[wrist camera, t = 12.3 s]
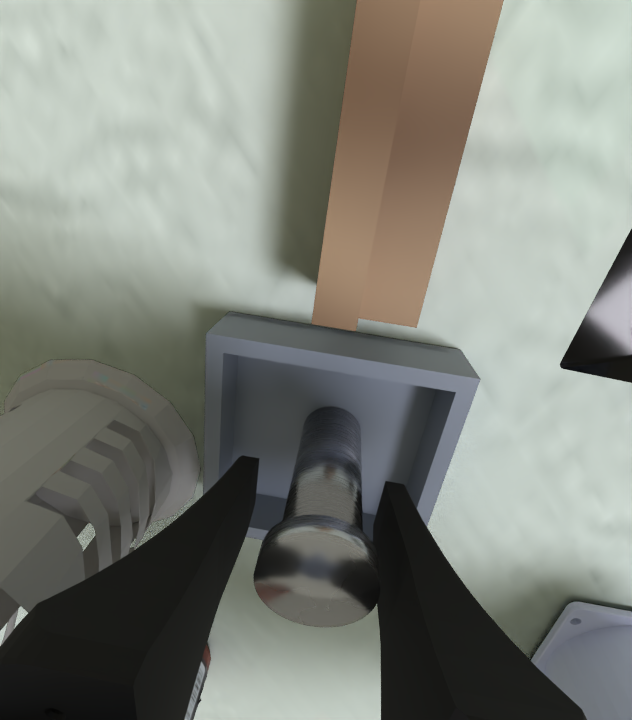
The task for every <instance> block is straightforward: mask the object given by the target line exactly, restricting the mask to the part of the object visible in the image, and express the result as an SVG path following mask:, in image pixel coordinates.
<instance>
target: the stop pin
mask: <svg viewBox="0 0 632 720" xmlns="http://www.w3.org/2000/svg"><path fill="white" fill-rule="evenodd" d="M254 586H255V589H256V591H257V593H258V595H259V597H260V598H261V600H262V601H263V602H264V603H265V604H266V605H267V606H268V607H269V608H270V609H271V610H273V611H274V612H276V613H277V614H279V615H280V616H282V617H284V618H286V619H288V620H291V621H293V622H296V623H299V624H304V625H308V626H314V627H336V626H342V625H347V624H350V623H353V622H355V621H358V620H360V619H361V618H363V617H365V616H366V615H367V614H369V613H370V612H371V611H372V610H373V609H374V607H375V606H376V604H377V602H378V600H379V596H380V576H379V560H378V554H377V551H376V548H375V546H374V544H373V543H372V541H371V540H370V539H369V537H368V536H367V535H366V534H365V533H364V532H363V518H362V466H361V428H360V424H359V422H358V420H357V419H356V418H355V416H354V415H353V414H351V413H350V412H349V411H347V410H345V409H342V408H339V407H333V406H328V407H322V408H319V409H317V410H315V411H313V412H312V413H311V414H310V415H309V416H308V417H307V419H306V420H305V423H304V426H303V431H302V435H301V440H300V444H299V449H298V453H297V457H296V462H295V466H294V471H293V475H292V479H291V484H290V488H289V493H288V497H287V501H286V506H285V510H284V515H283V519H282V522H280V523H278V524H276V525H275V526H274V527H273V528H271V529H270V530H269V532H268V533H267V534H266V536H265V537H264V539H263V542H262V545H261V549H260V552H259V556H258V560H257V563H256V567H255V571H254Z"/></svg>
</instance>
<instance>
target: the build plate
mask: <svg viewBox="0 0 632 720" xmlns="http://www.w3.org/2000/svg"><path fill="white" fill-rule="evenodd" d="M560 367H561V368H563V369H567V370H572V371H577V372H582V373H587V374H592V375H597V376H602V377H607V378H612V379H616V380H621V381H626V382H631V383H632V229H631V231H630V233H629V234H628V236H627V238H626V240H625V242H624V244H623V246H622V248H621V250H620V251H619V253H618V255H617V257H616V259H615V261H614V263H613V265H612V267H611V268H610V270H609V272H608V274H607V276H606V278H605V280H604V282H603V284H602V285H601V287H600V289H599V291H598V293H597V295H596V297H595V299H594V301H593V302H592V304H591V306H590V308H589V310H588V312H587V314H586V316H585V318H584V319H583V321H582V323H581V325H580V327H579V329H578V331H577V333H576V335H575V336H574V338H573V340H572V342H571V344H570V346H569V348H568V350H567V351H566V353H565V355H564V357H563V359H562V361H561V363H560Z"/></svg>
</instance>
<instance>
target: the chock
mask: <svg viewBox="0 0 632 720" xmlns="http://www.w3.org/2000/svg"><path fill="white" fill-rule="evenodd" d="M503 1H504V0H357V3H356V10H355V17H354V25H353V32H352V39H351V46H350V53H349V60H348V67H347V74H346V81H345V89H344V96H343V103H342V110H341V117H340V124H339V131H338V138H337V145H336V152H335V160H334V167H333V174H332V181H331V188H330V195H329V202H328V209H327V216H326V224H325V231H324V238H323V245H322V252H321V259H320V266H319V273H318V280H317V287H316V295H315V302H314V309H313V316H312V323H311V324H314V325H320V326H327V327H333V328H339V329H345V330H351V331H356V328H357V323H358V318H360V319H367V320H373V321H379V322H385V323H391V324H397V325H403V326H409V327H415V328H417V324H418V321H419V317H420V313H421V309H422V306H423V302H424V298H425V294H426V291H427V287H428V283H429V279H430V275H431V272H432V268H433V264H434V260H435V257H436V253H437V249H438V245H439V242H440V238H441V234H442V230H443V227H444V223H445V219H446V215H447V212H448V208H449V204H450V200H451V197H452V193H453V189H454V185H455V181H456V178H457V174H458V170H459V166H460V163H461V159H462V155H463V151H464V148H465V144H466V140H467V136H468V133H469V129H470V125H471V121H472V118H473V114H474V110H475V106H476V103H477V99H478V95H479V91H480V87H481V84H482V80H483V76H484V72H485V69H486V65H487V61H488V57H489V54H490V50H491V46H492V42H493V39H494V35H495V31H496V27H497V24H498V20H499V16H500V12H501V9H502V5H503Z"/></svg>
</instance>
